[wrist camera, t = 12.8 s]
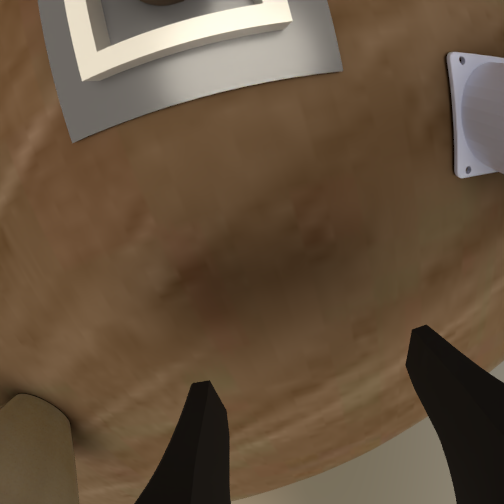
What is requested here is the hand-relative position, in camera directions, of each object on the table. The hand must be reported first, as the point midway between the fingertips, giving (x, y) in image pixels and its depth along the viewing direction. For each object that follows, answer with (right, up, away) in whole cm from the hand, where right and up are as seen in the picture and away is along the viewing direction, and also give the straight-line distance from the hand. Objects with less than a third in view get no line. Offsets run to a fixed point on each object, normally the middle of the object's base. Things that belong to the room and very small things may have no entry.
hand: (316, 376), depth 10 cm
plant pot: (-26, -14, +16) cm, 34 cm away
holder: (-6, +18, 0) cm, 19 cm away
